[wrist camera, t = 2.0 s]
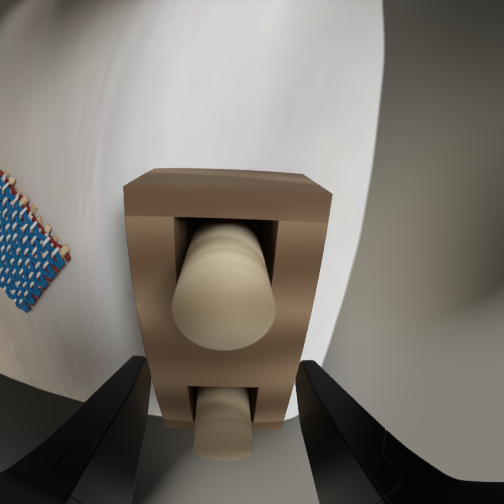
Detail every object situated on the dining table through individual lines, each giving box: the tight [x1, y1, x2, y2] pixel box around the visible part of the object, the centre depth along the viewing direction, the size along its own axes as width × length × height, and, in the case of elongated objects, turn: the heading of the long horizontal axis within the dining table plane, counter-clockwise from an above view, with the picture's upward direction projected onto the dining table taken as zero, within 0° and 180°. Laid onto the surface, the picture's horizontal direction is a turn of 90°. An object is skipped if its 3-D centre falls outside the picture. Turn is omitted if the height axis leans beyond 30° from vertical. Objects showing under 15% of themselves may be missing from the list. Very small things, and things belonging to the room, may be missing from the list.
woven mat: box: [0, 170, 71, 313], centre depth 18 cm, size 10×11×2 cm
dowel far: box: [194, 386, 253, 461], centre depth 18 cm, size 4×4×6 cm
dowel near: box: [172, 218, 276, 351], centre depth 13 cm, size 4×4×6 cm
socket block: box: [123, 168, 332, 431], centre depth 20 cm, size 20×10×6 cm, turn 176°
